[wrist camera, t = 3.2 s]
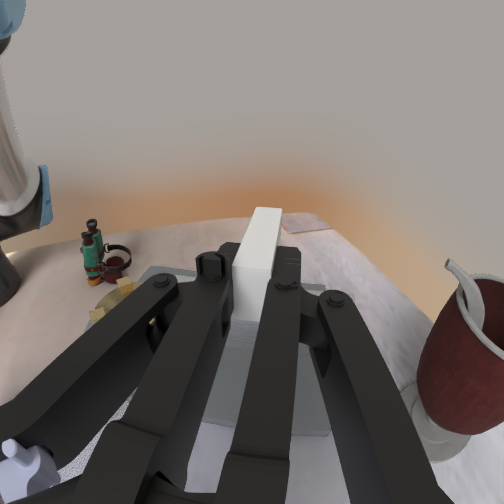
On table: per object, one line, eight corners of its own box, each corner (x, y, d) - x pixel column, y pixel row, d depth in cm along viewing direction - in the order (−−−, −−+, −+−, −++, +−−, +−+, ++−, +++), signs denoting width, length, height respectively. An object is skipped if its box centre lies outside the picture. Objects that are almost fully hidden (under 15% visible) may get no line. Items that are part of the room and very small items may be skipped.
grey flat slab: (75, 379, 29) (61, 357, 26) (151, 272, 51) (148, 251, 49) (326, 436, 25) (337, 418, 22) (323, 292, 47) (327, 270, 45)
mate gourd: (475, 388, 26) (550, 267, 16) (470, 474, 16) (595, 355, 6) (385, 364, 33) (440, 226, 23) (357, 453, 22) (456, 313, 12)
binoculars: (127, 234, 43) (71, 237, 40) (132, 287, 48) (81, 289, 45) (131, 214, 50) (82, 216, 47) (134, 262, 55) (89, 264, 52)
